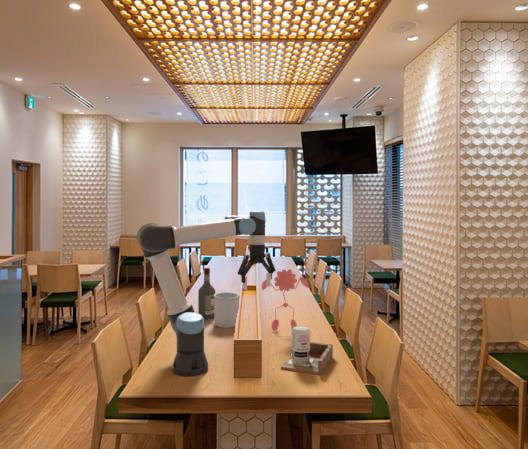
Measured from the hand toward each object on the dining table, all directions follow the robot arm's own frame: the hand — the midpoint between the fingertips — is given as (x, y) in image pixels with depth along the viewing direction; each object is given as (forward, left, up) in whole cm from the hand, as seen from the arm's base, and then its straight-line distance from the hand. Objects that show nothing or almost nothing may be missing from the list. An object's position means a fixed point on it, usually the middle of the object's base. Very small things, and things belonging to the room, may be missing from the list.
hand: (256, 288), depth 216 cm
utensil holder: (+35, +32, -31) cm, 57 cm away
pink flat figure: (+33, -4, -31) cm, 45 cm away
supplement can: (-8, -24, -30) cm, 39 cm away
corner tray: (-6, -27, -31) cm, 41 cm away
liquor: (+45, +50, -31) cm, 74 cm away
